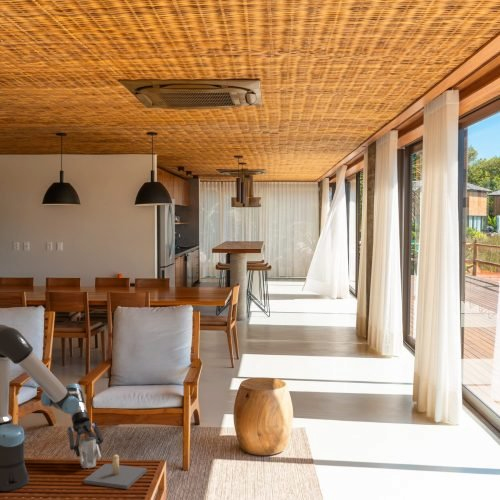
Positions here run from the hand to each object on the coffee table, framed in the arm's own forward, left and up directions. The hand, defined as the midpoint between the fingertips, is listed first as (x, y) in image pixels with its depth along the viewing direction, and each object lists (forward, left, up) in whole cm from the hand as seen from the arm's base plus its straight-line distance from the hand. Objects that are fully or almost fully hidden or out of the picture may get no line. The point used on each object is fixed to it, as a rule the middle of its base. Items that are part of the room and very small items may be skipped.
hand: (91, 460), depth 251 cm
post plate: (+15, -6, -4) cm, 17 cm away
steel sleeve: (-3, +2, -4) cm, 5 cm away
